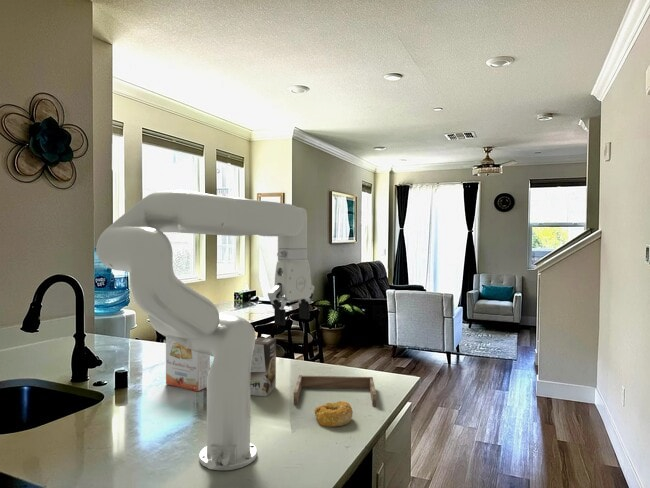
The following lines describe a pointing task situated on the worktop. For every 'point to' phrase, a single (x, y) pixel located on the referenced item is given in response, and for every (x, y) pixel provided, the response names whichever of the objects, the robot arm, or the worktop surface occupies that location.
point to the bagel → (334, 414)
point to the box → (335, 384)
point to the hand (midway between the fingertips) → (292, 321)
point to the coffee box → (263, 367)
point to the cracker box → (186, 367)
